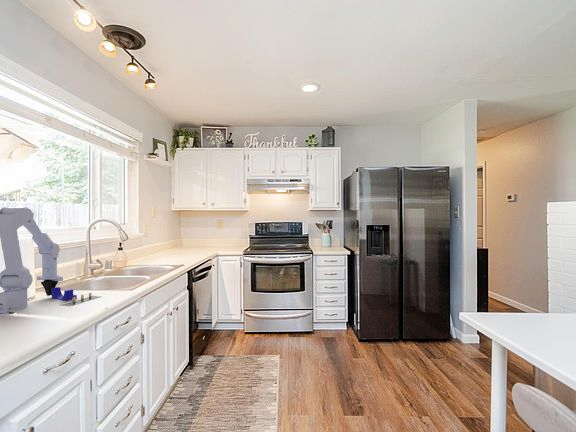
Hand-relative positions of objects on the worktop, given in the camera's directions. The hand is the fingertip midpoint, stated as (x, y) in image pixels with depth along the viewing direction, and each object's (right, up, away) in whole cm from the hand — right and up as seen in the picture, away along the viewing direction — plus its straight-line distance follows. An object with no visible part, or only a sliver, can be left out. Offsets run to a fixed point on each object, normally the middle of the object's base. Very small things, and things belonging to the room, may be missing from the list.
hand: (49, 295), depth 150 cm
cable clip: (+11, -2, -5) cm, 12 cm away
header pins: (+22, 0, -10) cm, 24 cm away
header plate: (+22, -1, -9) cm, 24 cm away
